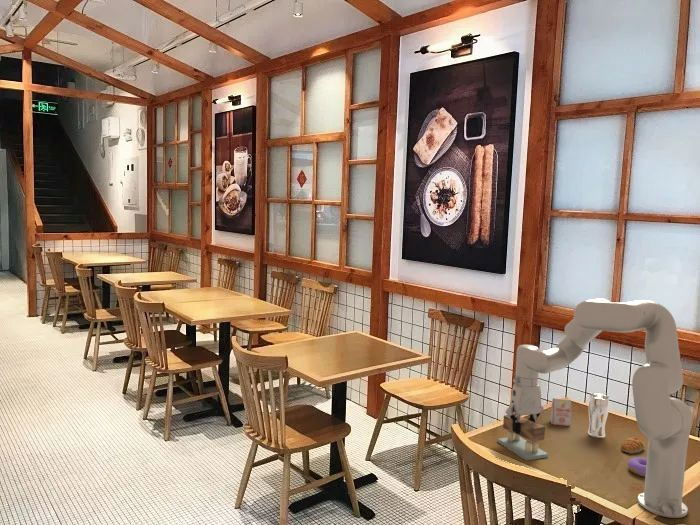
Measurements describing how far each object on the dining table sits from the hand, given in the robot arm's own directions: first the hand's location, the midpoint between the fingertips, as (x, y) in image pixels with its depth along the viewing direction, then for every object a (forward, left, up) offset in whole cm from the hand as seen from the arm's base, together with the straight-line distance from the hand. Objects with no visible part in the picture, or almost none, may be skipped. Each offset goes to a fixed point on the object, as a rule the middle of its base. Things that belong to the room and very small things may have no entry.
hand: (523, 430), depth 199 cm
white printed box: (+31, -16, -7) cm, 35 cm away
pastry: (+12, -38, -7) cm, 41 cm away
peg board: (0, 0, -7) cm, 7 cm away
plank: (0, 0, -1) cm, 1 cm away
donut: (-6, -37, -7) cm, 39 cm away
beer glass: (+23, -28, -7) cm, 37 cm away
